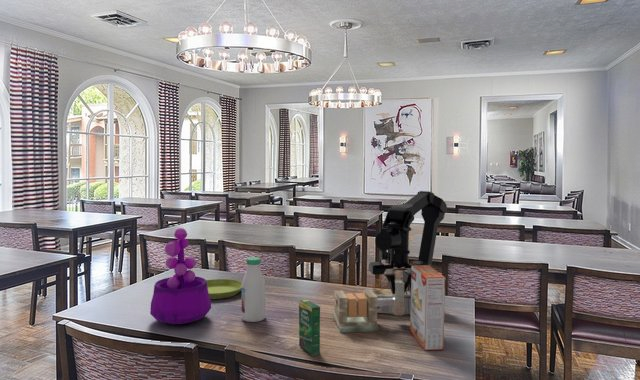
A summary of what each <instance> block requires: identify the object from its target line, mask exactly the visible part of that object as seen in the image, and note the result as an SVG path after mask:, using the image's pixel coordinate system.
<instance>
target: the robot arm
mask: <svg viewBox="0 0 640 380" xmlns="http://www.w3.org/2000/svg"><path fill="white" fill-rule="evenodd" d="M447 206H448V205H447V203H446V202H445V201H444V199H443V198H441V197H439V196H438V195H435V193H434V192H432V191H428V190H425V191H424V190H420V191H418V192H417V193H416V194H415V195H414V196H413V197H411V198H410V199H408V200H407V201H406V202H404V203H400V204H395V205H392V206H391V207H390V208H389V209H388V210H387V213H386V216H385V219H384V221H383V223H382V226H381V229H380V230H381V231H380V232H379V233H378V234H376V236H375V239H374V241H375V242H374V243H375V245H376V247H377V248H378V249H379V250H380V251H379V259H380V261H370V262H369V263H368V271H369V273H371V274H372V275H374V276H375V275H383V276H384V277H386V279H387V282H388V286H389V289H391V292H392V294H394V292H395V281H396V275H395V274H394V271H401V272H402V281H403V282H404V283H405V285H404V294H405V292H406V290H408V287H409V288H410V289H409V290H411V266H413V265H429V266H430V267H432V268H433V269H434V267H433V259H434V252H435V246H436V239H437V233H438V226H439V225H440V223H441V222H442V221H443V220H444V218H445V215H446V212H447V210H448V209H447V208H448V207H447ZM420 211H421V213H420V214H421V217H422V219H423V221H424V224H423V229H422V234H421V241H420V247H419V253H418V259H417V260H413V261H412V263H409V255H410V253H411V252H410V249H409V244H410V243H409V241H410V239H409V237H410V231H412V228H411V224H412V223H413V222H414V220H415V215H416V214H417V213H419V212H420ZM388 250H389V251H388ZM382 261H385V264H384V263H382Z"/></svg>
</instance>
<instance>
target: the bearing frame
mask: <svg viewBox="0 0 640 380" xmlns="http://www.w3.org/2000/svg"><path fill="white" fill-rule="evenodd" d="M362 293H363V294H364V295H365V297H366V298H367V317H358V315H357V314H356V317H348V316H347V303H348V298H347V296H346V295H345V292H344V291H343V290H334V313H333V314H332V315H333V316H332V319H333V321H334V323H335V325H336V327H337V329H338V331H339V333H340V334H342V333H357V332H359V333H360V332H362V333H363V332H380V331H379V327H380V326H379V325H378V313H377V299H378V297H377V296H376V295H375V294H374V293H373V291H372V290H367V289H363V290H362Z"/></svg>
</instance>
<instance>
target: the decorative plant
mask: <svg viewBox="0 0 640 380" xmlns="http://www.w3.org/2000/svg"><path fill="white" fill-rule="evenodd" d="M173 236H174V237H175V239H176V240H177V241H175V240H174V241H173V240H171V241H169V242H168V243H166V245H165V246H164V252H165V254H166V255H167V256H168V258H167V259H166V261H165V266H166V267H167V268H168V269H169V270H170V269H171V270H172V269H174V274H173V276H170V277H165V278H162V279H159V280H158V281H156V282H155V283H154V285H153V295H152V298H151V301H150V310H149V311H150V312H149V313H150V315H151V316H152V317H153V319H155V320H156V321H158V322H160V323H164V324H169V325H185V324H189V323H193V322H195V321H198V320H201V319H202V318H204V317H206V315H207V314H208V313H209V312H210V310H211V309H212V299H210V296H209V293H208V287H207V281H206V280H207V279H205V278H204V277H200V276H196V274H195V271H193V270H192V269H194V268H195V266H197V260H196V259H195V258H194V257H192V256H189V257H185V250H184V249H186V248H188V246H189V240H187V239H186V238H187V236H188V233H187V230H186V229H185V228H182V227H179V228H177V229H176V230H175V231H174V235H173ZM169 256H170V257H169Z"/></svg>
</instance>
